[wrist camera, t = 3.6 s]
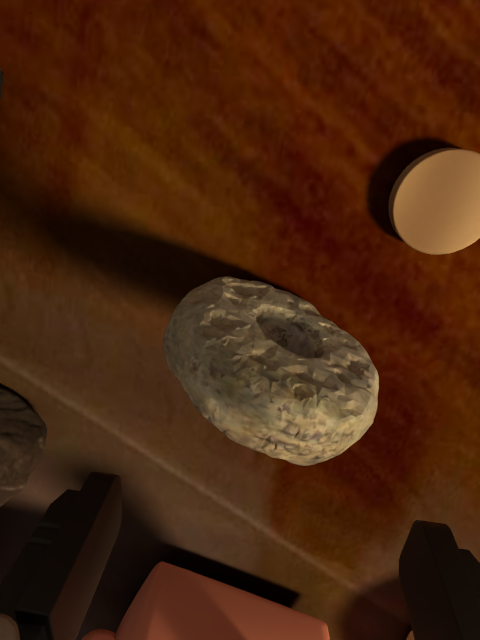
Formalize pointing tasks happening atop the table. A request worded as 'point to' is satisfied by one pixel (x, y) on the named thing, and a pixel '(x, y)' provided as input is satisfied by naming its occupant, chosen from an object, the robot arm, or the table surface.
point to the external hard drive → (1, 81)
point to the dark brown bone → (18, 443)
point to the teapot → (206, 612)
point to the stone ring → (271, 370)
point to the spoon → (438, 201)
